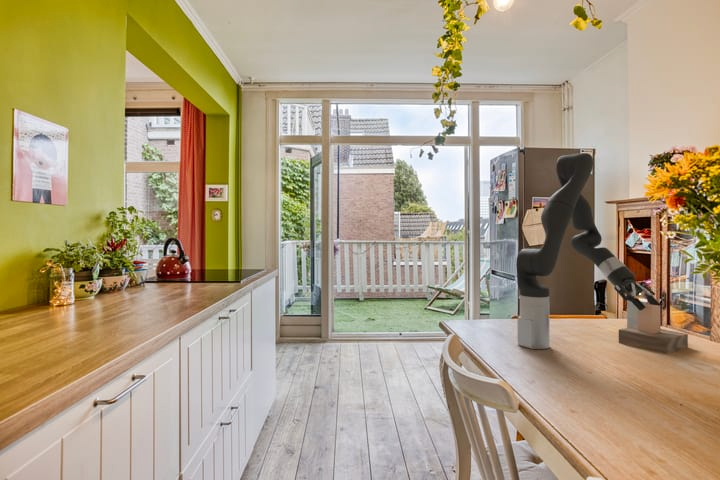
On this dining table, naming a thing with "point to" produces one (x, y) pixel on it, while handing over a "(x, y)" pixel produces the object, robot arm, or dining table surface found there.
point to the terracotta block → (649, 319)
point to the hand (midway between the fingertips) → (650, 308)
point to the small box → (633, 313)
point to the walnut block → (654, 340)
